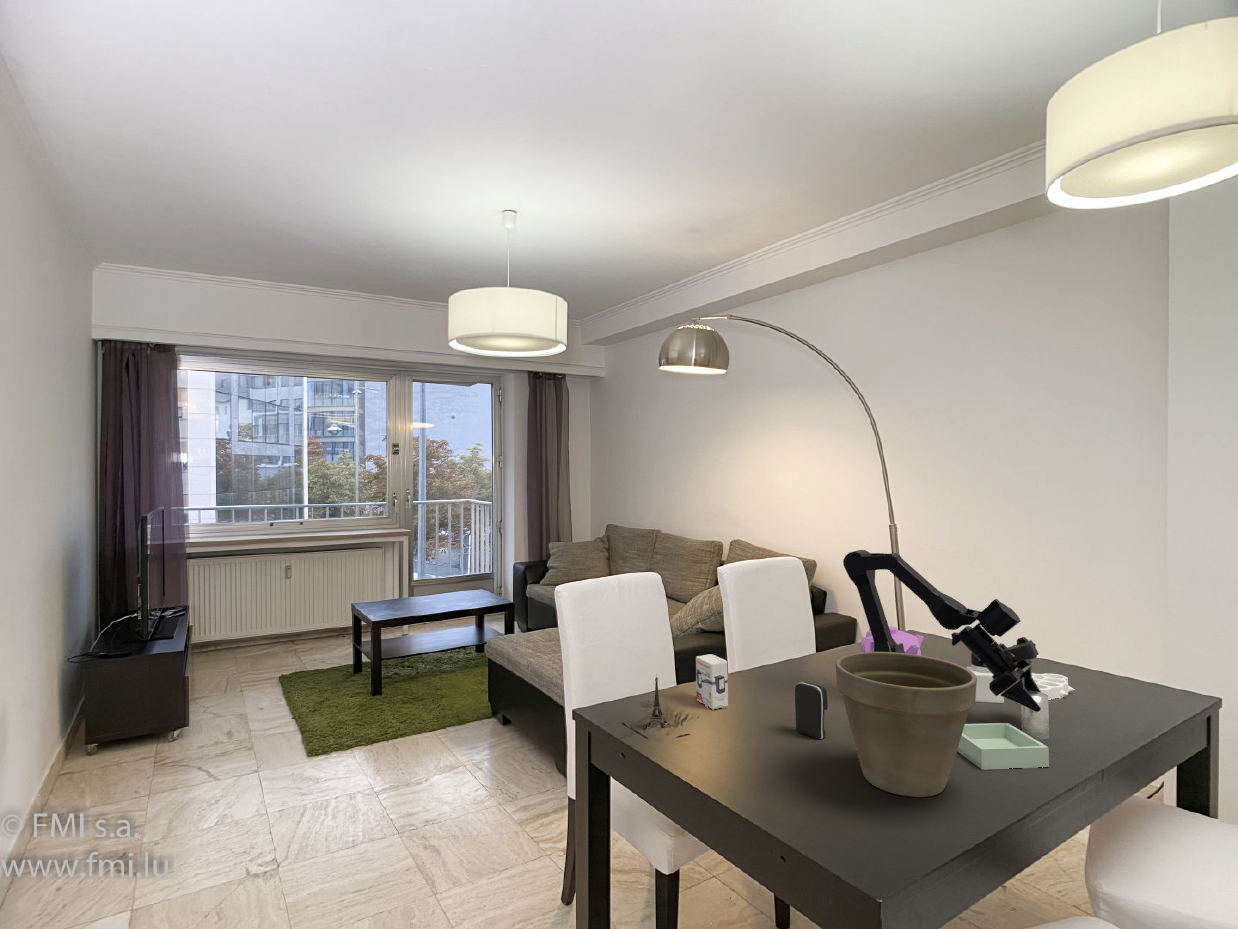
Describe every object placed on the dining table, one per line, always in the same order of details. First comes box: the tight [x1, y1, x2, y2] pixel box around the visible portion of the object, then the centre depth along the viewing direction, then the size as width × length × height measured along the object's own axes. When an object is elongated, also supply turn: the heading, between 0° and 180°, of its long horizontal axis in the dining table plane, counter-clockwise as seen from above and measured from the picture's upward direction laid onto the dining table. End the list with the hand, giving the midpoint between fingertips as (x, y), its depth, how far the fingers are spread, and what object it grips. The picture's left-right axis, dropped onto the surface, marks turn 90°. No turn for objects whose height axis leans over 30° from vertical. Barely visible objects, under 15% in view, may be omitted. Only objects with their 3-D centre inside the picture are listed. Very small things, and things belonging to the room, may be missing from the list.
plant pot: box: [835, 651, 977, 798], centre depth 133 cm, size 25×25×22 cm
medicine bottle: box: [965, 652, 1005, 704], centre depth 180 cm, size 7×7×12 cm
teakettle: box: [860, 626, 925, 656], centre depth 209 cm, size 17×17×12 cm
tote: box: [957, 722, 1050, 771], centre depth 144 cm, size 14×14×4 cm
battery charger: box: [794, 681, 829, 740], centre depth 157 cm, size 7×4×11 cm, turn 38°
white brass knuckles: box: [1032, 672, 1076, 701], centre depth 186 cm, size 3×18×15 cm
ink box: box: [695, 654, 729, 708], centre depth 178 cm, size 8×5×12 cm, turn 23°
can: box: [1020, 691, 1050, 740], centre depth 155 cm, size 5×5×9 cm
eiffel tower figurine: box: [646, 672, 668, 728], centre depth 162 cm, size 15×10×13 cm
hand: (1041, 706), depth 154 cm, fingers open, 7 cm apart
